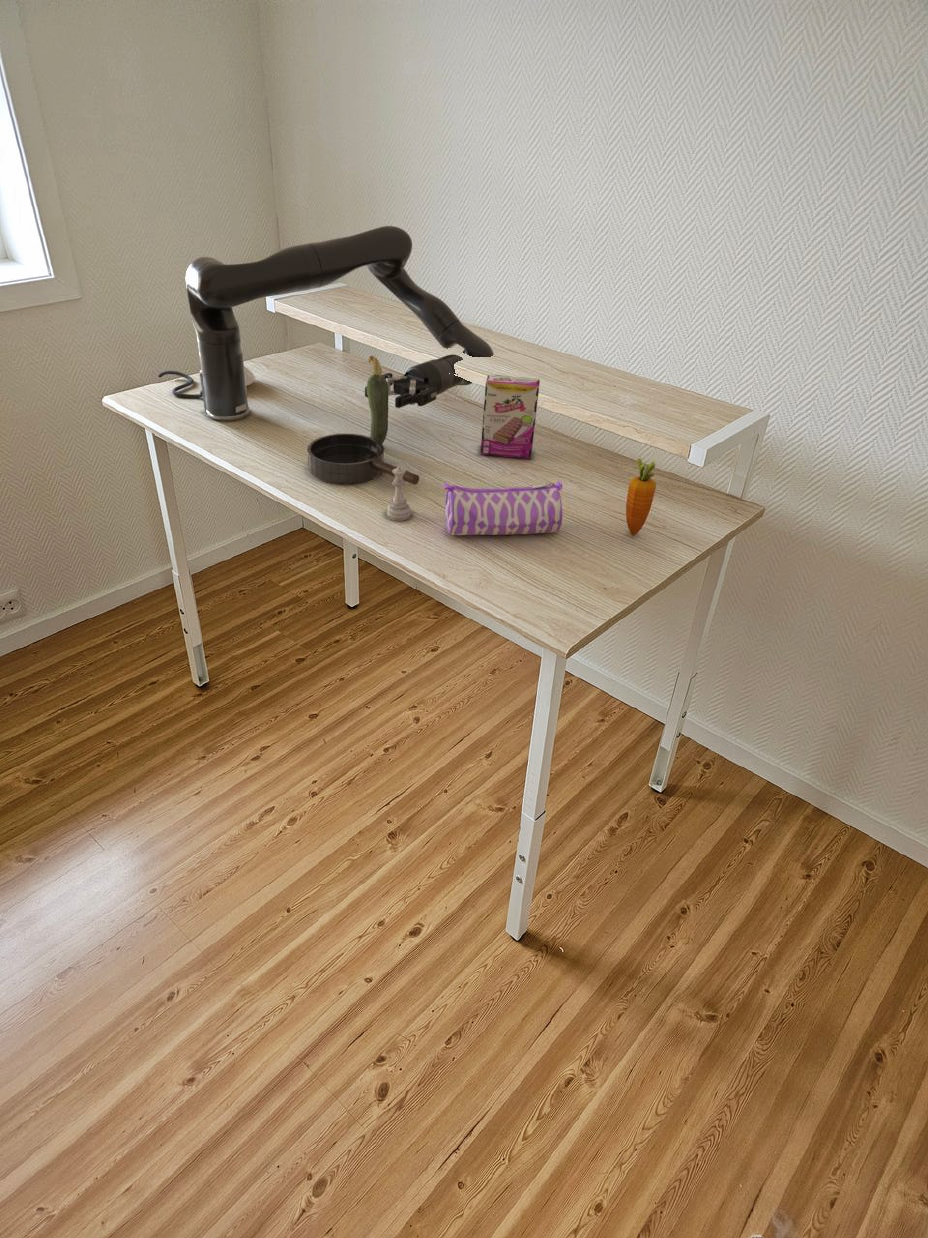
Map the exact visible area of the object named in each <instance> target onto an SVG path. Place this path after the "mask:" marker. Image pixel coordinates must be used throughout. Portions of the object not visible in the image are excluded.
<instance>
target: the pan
mask: <svg viewBox="0 0 928 1238" xmlns="http://www.w3.org/2000/svg"><path fill="white" fill-rule="evenodd" d="M373 459H378V460H380V461H383V462H385V447H384V445H383V444H381V443H380V442H379V441H378V440H376V439H374V438H371V437H370V435H364V434H358V433H348V432H347V433H333V434H327V435H324V436H320V437H318V438H316V439H314V440H312V441H311V442H309V444H308V445H307V447H306V460H307V468H308V469H307V470H308V471H309V473H310V475H313V476H314V477H315V478H317V479H318V480H319V481H322V482H326V483H329V484H335V485H357V484H363V483H367V482H369V481H372V480H374V479H376V478H377V477H378V476H379V475H381V474H382V473H383V472H380V471H378V470H375V469H373V468H371V462H372V460H373Z"/></svg>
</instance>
